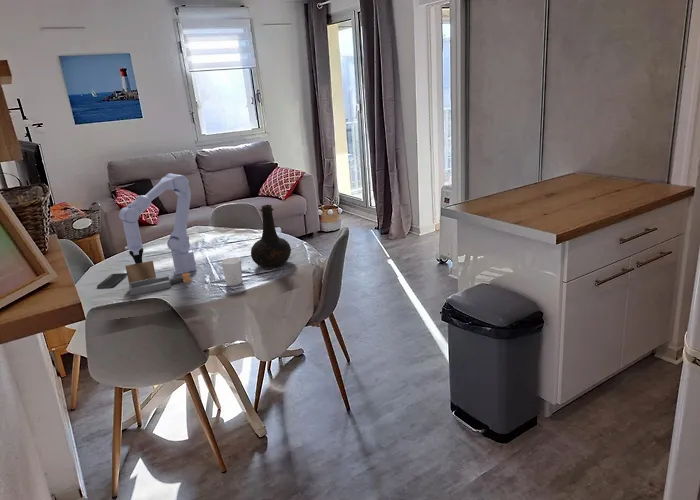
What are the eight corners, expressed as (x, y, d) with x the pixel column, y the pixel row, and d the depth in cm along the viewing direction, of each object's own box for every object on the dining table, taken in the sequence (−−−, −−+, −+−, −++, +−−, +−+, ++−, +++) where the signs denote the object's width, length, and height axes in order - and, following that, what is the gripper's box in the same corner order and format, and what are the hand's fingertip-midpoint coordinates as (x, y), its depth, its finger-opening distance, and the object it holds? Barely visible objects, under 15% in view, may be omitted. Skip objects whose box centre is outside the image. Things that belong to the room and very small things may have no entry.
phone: (95, 287, 219) (111, 273, 233) (96, 289, 219) (112, 276, 233) (113, 286, 218) (128, 272, 232) (114, 288, 219) (129, 275, 233)
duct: (169, 280, 222) (168, 275, 221) (170, 287, 215) (169, 281, 214) (130, 288, 216) (129, 283, 215) (130, 295, 209) (129, 289, 208)
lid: (156, 277, 219) (156, 277, 220) (152, 260, 217) (152, 260, 218) (128, 282, 215) (129, 282, 216) (125, 265, 213) (125, 265, 214)
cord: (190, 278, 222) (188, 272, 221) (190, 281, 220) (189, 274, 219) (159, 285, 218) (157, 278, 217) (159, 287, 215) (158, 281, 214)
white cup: (221, 283, 215) (217, 261, 212) (237, 277, 220) (233, 256, 217) (231, 288, 209) (227, 265, 206) (247, 282, 215) (244, 259, 211)
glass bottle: (245, 269, 229) (236, 209, 219) (267, 256, 244) (260, 199, 234) (278, 274, 221) (270, 212, 212) (299, 259, 236) (293, 201, 227)
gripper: (122, 232, 217) (129, 262, 222) (122, 242, 204) (129, 273, 209) (140, 230, 220) (146, 259, 224) (141, 239, 207) (147, 269, 211)
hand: (139, 266), depth 217 cm, fingers closed, pressing on lid
